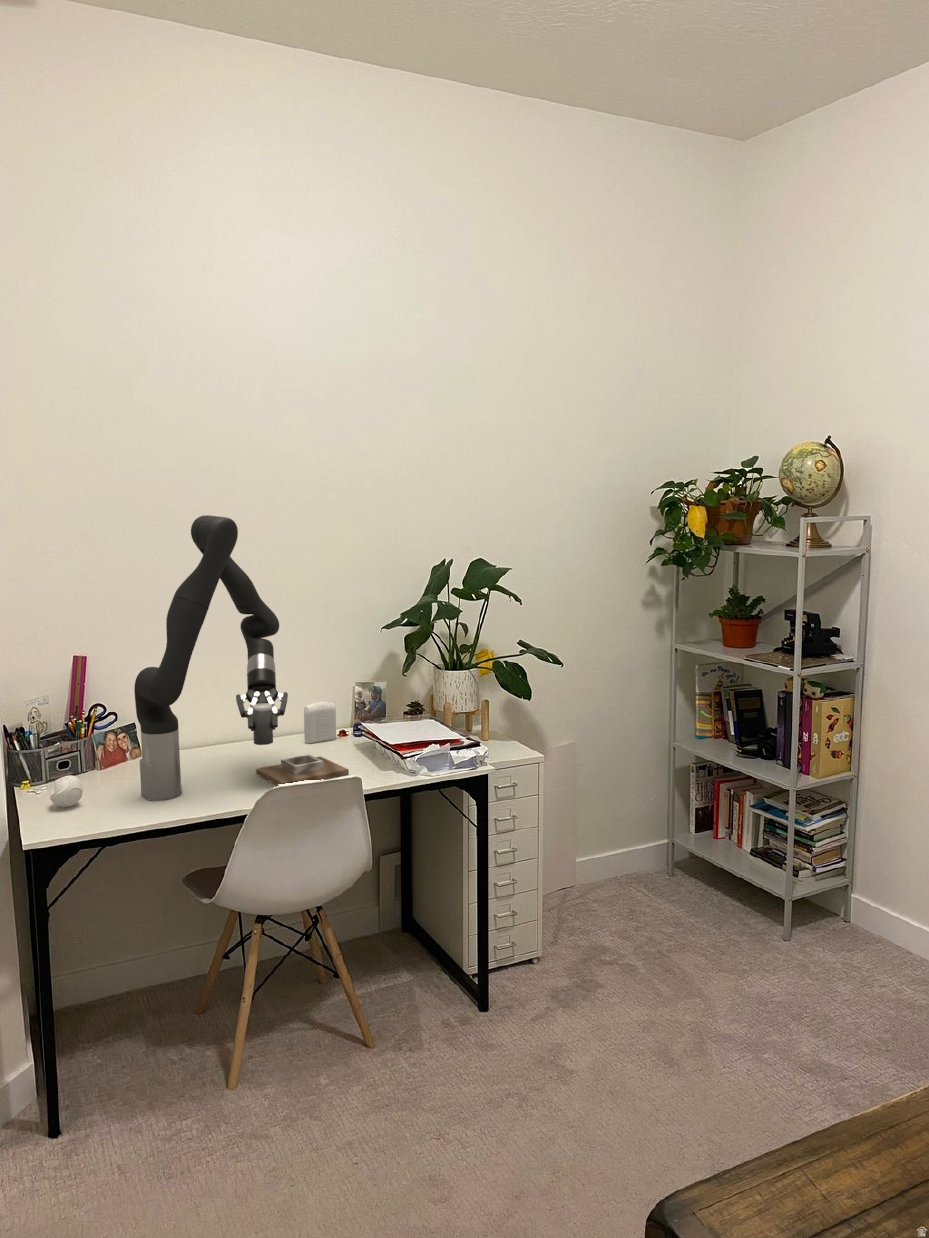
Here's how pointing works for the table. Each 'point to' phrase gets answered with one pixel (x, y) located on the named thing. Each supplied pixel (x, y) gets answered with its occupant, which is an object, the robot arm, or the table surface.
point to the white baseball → (66, 791)
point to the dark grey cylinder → (262, 724)
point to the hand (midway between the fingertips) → (263, 728)
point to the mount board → (301, 770)
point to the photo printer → (319, 722)
